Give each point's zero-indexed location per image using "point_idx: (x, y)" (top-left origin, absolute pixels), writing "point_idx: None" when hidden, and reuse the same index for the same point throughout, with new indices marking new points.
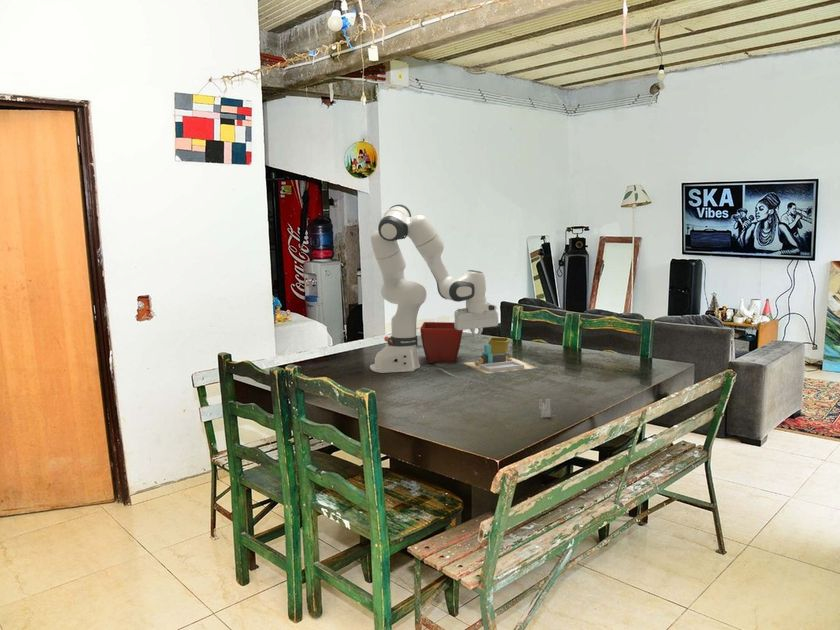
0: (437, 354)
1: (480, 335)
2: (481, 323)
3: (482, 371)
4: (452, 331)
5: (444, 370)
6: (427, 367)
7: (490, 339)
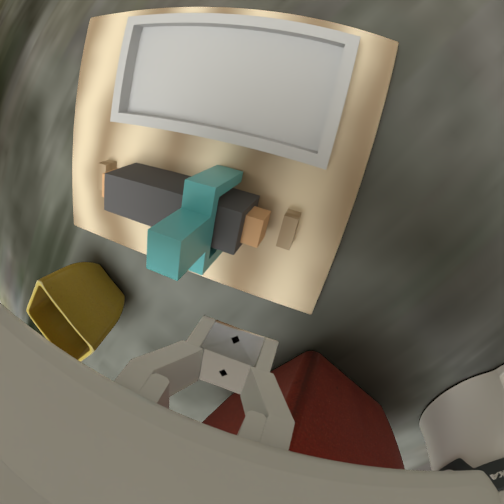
0: (368, 416)
1: (194, 329)
2: (97, 445)
3: (378, 86)
4: None
5: (449, 297)
6: (439, 372)
7: (81, 356)
